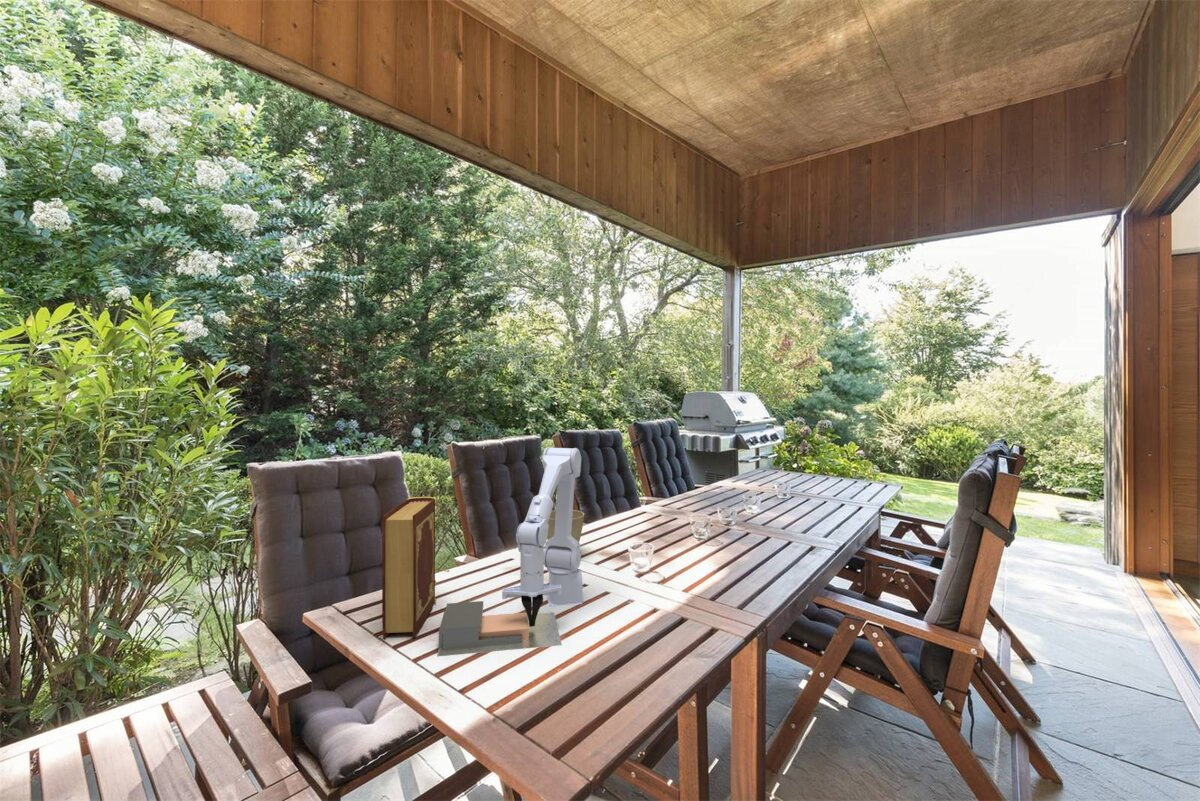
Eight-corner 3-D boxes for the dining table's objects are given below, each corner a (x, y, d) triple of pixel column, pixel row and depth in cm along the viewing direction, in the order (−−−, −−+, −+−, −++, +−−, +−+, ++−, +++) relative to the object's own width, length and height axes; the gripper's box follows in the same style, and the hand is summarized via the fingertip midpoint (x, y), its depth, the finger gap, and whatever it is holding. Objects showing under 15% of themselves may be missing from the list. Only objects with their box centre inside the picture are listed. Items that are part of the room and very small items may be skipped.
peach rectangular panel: (526, 621, 128) (526, 612, 128) (528, 638, 120) (528, 628, 120) (462, 627, 125) (462, 617, 125) (459, 644, 117) (459, 634, 117)
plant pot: (543, 552, 188) (543, 509, 187) (582, 551, 189) (582, 509, 189) (542, 565, 173) (542, 519, 173) (585, 564, 174) (585, 518, 174)
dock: (554, 614, 134) (554, 592, 134) (561, 647, 117) (561, 622, 117) (445, 622, 129) (445, 600, 129) (436, 659, 111) (436, 633, 111)
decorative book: (409, 601, 142) (409, 496, 142) (437, 601, 143) (437, 496, 142) (381, 640, 120) (381, 515, 119) (415, 639, 120) (415, 515, 120)
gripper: (502, 578, 119) (502, 634, 119) (563, 574, 122) (562, 629, 122) (502, 567, 126) (502, 621, 126) (559, 564, 128) (559, 617, 129)
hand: (531, 624), depth 124 cm, fingers closed
